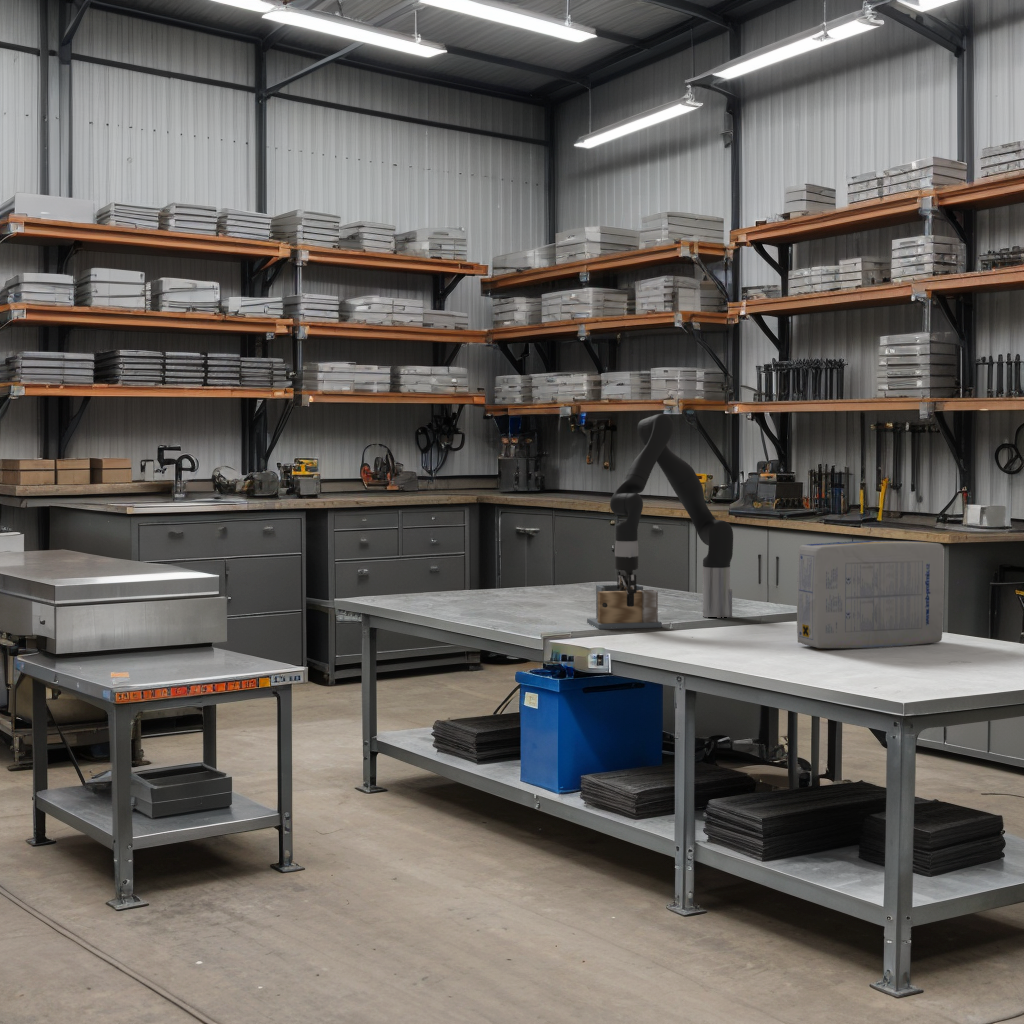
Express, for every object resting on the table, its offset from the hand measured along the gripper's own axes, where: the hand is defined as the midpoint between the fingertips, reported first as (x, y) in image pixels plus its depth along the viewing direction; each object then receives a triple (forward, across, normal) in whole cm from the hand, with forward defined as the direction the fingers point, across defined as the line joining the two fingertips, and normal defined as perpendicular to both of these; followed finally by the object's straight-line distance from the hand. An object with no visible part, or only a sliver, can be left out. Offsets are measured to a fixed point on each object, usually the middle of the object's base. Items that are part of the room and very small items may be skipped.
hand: (626, 604), depth 393 cm
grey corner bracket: (+7, -4, 0) cm, 8 cm away
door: (+6, 0, 0) cm, 6 cm away
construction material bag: (+7, +53, +58) cm, 79 cm away
